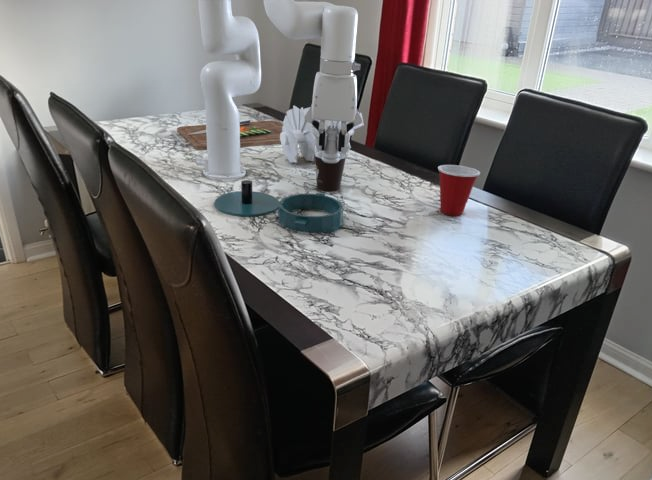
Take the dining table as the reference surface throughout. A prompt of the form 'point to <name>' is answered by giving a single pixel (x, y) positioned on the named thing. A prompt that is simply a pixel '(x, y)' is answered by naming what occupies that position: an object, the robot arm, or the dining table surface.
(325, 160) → the rook chess piece
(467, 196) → the plastic cup
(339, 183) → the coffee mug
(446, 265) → the dining table surface
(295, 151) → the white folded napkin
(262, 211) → the lid
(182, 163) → the dining table surface
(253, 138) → the chopping board
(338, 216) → the pot
